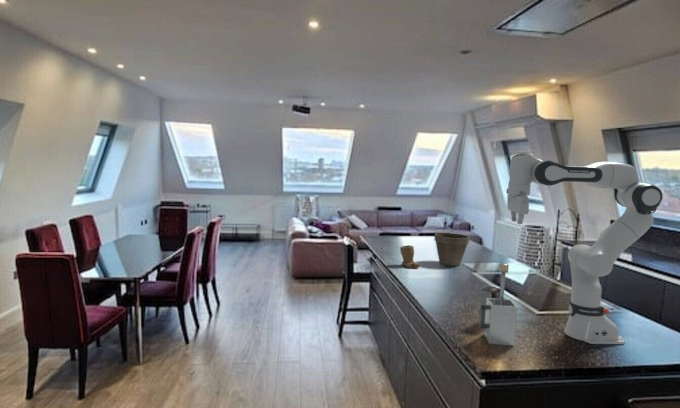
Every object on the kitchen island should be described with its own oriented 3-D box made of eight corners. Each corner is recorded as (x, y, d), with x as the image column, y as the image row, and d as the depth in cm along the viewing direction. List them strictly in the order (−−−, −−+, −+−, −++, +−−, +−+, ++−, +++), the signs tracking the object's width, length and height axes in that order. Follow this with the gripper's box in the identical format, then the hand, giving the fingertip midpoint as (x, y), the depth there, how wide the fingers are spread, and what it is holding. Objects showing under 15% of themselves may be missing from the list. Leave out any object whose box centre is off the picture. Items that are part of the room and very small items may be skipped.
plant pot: (469, 262, 329) (471, 234, 327) (465, 269, 306) (467, 239, 304) (436, 258, 339) (438, 231, 337) (429, 265, 316) (431, 235, 314)
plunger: (507, 315, 183) (511, 262, 181) (512, 321, 176) (516, 267, 174) (488, 313, 184) (491, 261, 182) (492, 320, 177) (496, 265, 175)
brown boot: (397, 264, 316) (398, 243, 315) (413, 264, 318) (414, 243, 317) (404, 269, 301) (405, 247, 300) (420, 268, 303) (421, 247, 302)
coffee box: (492, 327, 195) (494, 292, 194) (478, 323, 199) (480, 289, 198) (499, 322, 202) (501, 288, 201) (485, 318, 206) (487, 285, 205)
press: (508, 336, 185) (510, 299, 184) (514, 345, 175) (517, 307, 174) (476, 333, 187) (479, 297, 185) (481, 342, 177) (483, 304, 176)
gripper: (534, 192, 177) (531, 226, 178) (520, 190, 197) (518, 220, 198) (517, 191, 177) (515, 225, 179) (505, 189, 198) (503, 219, 199)
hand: (516, 222), depth 189 cm, fingers open, 8 cm apart
